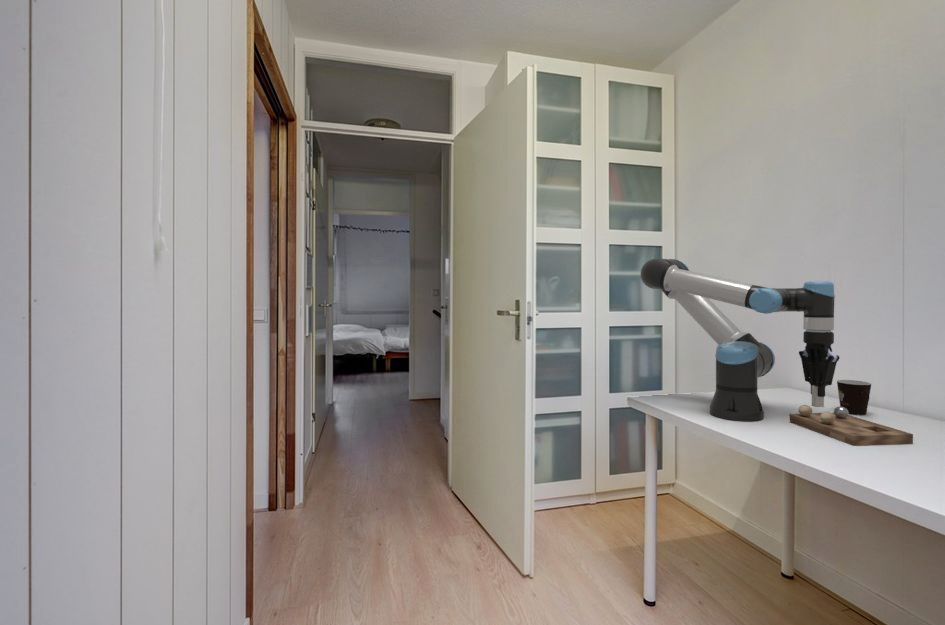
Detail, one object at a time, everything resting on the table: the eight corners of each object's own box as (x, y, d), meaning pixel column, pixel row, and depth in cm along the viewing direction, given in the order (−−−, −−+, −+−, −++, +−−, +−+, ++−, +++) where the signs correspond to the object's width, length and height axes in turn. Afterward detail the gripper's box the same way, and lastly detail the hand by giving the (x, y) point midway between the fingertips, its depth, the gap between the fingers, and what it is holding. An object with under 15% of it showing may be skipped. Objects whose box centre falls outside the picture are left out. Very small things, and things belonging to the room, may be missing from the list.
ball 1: (804, 417, 133) (804, 406, 133) (795, 414, 137) (795, 403, 137) (815, 417, 134) (815, 406, 134) (806, 414, 137) (806, 403, 137)
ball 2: (826, 425, 126) (826, 413, 125) (816, 422, 129) (817, 410, 129) (838, 425, 126) (838, 413, 126) (828, 421, 129) (828, 410, 129)
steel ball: (840, 419, 131) (840, 408, 131) (830, 416, 134) (830, 405, 134) (851, 419, 131) (851, 407, 131) (841, 416, 134) (841, 405, 134)
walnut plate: (853, 445, 116) (854, 436, 116) (789, 422, 138) (789, 413, 138) (912, 443, 117) (913, 434, 117) (839, 420, 139) (839, 412, 139)
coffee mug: (836, 408, 154) (837, 378, 153) (870, 411, 148) (870, 381, 148) (836, 415, 145) (836, 384, 144) (872, 419, 139) (872, 387, 139)
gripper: (848, 332, 134) (847, 411, 135) (813, 329, 147) (812, 401, 148) (824, 332, 134) (823, 411, 134) (790, 329, 147) (790, 401, 147)
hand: (817, 406), depth 141 cm, fingers closed
